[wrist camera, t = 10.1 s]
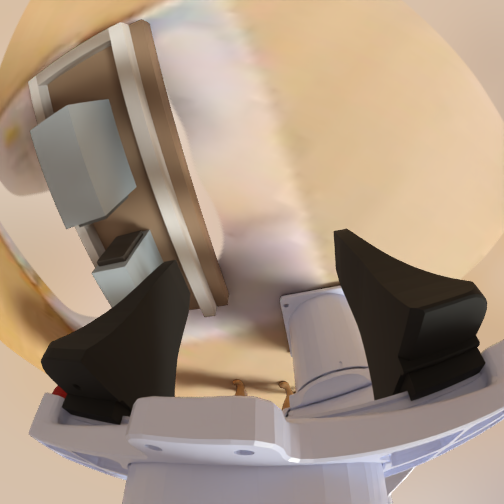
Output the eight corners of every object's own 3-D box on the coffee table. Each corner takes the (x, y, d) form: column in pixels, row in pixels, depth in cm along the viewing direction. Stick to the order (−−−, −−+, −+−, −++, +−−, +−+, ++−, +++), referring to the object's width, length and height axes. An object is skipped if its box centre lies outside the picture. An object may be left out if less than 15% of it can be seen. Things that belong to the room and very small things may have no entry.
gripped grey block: (108, 99, 15) (67, 105, 11) (138, 191, 19) (107, 221, 14) (72, 118, 15) (29, 130, 11) (102, 203, 19) (69, 234, 15)
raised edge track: (228, 293, 25) (222, 349, 20) (129, 306, 27) (108, 353, 21) (149, 23, 13) (107, 1, 8) (40, 85, 14) (-13, 94, 9)
